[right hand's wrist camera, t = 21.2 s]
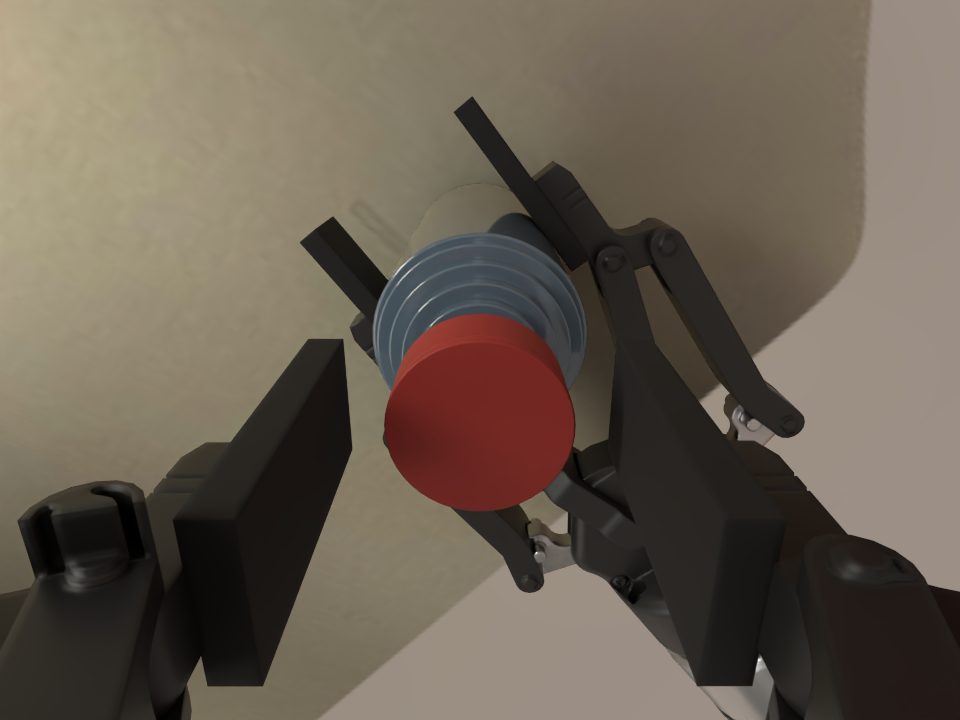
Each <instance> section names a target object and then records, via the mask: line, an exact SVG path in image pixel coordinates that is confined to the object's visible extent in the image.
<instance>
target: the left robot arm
mask: <svg viewBox="0 0 960 720" xmlns="http://www.w3.org/2000/svg"><path fill="white" fill-rule="evenodd" d="M454 113H455V115H456V116H457V117H458V119H459V120H460V121H461V123H462V124H463V126H464V127H465V128H466V130H467V131H468V132H469V134H470V135H471V136H472V138H473V139H474V140H475V142H476V143H477V144H478V146H479V147H480V149H481V150H482V151H483V153H484V154H485V155H486V157H487V158H488V159H489V161H490V162H491V163H492V165H493V166H494V167H495V169H496V170H497V172H498V173H499V174H500V176H501V177H502V178H503V180H504V181H505V182H506V184H507V185H508V186H509V188H510V189H511V190H512V192H513V193H514V195H515V196H516V197H517V199H518V200H519V201H520V203H521V204H522V205H523V207H524V208H525V209H526V211H527V212H528V213H529V215H530V216H531V218H532V219H533V220H534V222H535V223H536V224H537V226H538V227H539V228H540V230H541V231H542V232H543V234H544V235H545V236H546V238H547V239H548V240H549V241H550V243H551V245H552V246H553V247H554V249H555V250H556V251H557V253H558V254H559V255H560V257H561V258H562V259H563V261H564V262H565V264H566V265H567V266H568V268H569V269H570V270H571V272H572V271H573V270H575V269H576V268H577V267H579V266H580V265H582V264H583V263H584V262H586V261H587V260H588V263H589V267H590V270H591V273H592V276H593V279H594V282H595V286H596V289H597V292H598V295H599V298H600V302H601V305H602V308H603V311H604V314H605V317H606V321H607V324H608V327H609V330H610V333H611V336H612V340H613V343H614V346H615V349H616V343H617V339H652V340H653V342H654V339H653V335H652V332H651V328H650V325H649V321H648V318H647V314H646V311H645V307H644V304H643V301H642V297H641V294H640V290H639V287H638V283H637V280H636V276H635V273H634V270H635V269H639V268H642V267H645V266H648V265H650V267H651V269H652V270H653V272H654V274H655V275H656V277H657V279H658V280H659V282H660V284H661V285H662V287H663V289H664V291H665V292H666V294H667V296H668V297H669V299H670V301H671V302H672V304H673V306H674V308H675V309H676V311H677V313H678V314H679V316H680V318H681V319H682V321H683V323H684V324H685V326H686V328H687V330H688V331H689V333H690V335H691V336H692V338H693V340H694V341H695V343H696V345H697V347H698V348H699V350H700V352H701V353H702V355H703V357H704V358H705V360H706V362H707V363H708V365H709V367H710V369H711V370H712V372H713V373H714V375H715V376H716V378H717V379H718V380H719V381H720V383H721V384H722V385H723V386H724V387H725V388H726V389H727V390H728V392H729V393H730V394H728V395H727V396H726V398H725V404H724V413H725V415H726V416H727V417H728V419H729V421H730V428H729V431H728V432H727V434H723V435H724V436H725V437H726V439H727V440H754V441H756V442H758V443H759V444H761V445H763V446H764V445H765V444H766V443H767V442H768V441H769V440H770V439H771V438H772V437H773V436H774V435H775V434H776V435H778V436H780V437H782V438H789V437H792V436H795V435H796V434H798V433H799V432H800V431H801V430H802V428H803V427H804V423H805V421H804V416H803V415H802V414H801V413H800V412H799V411H798V410H797V409H796V408H795V407H794V406H793V405H792V404H791V403H790V402H789V401H788V400H786V399H785V398H784V397H783V396H782V395H781V394H780V393H779V392H778V391H777V390H776V389H775V388H774V387H773V386H771V385H770V384H769V383H767V382H766V381H765V380H764V379H763V378H762V376H761V374H760V372H759V371H758V369H757V367H756V365H755V363H754V362H753V360H752V358H751V356H750V354H749V353H748V351H747V349H746V347H745V345H744V344H743V342H742V340H741V338H740V337H739V335H738V333H737V331H736V329H735V328H734V326H733V324H732V322H731V321H730V319H729V317H728V315H727V313H726V312H725V310H724V308H723V306H722V304H721V303H720V301H719V299H718V297H717V296H716V294H715V292H714V290H713V288H712V287H711V285H710V283H709V281H708V279H707V278H706V276H705V274H704V272H703V271H702V269H701V267H700V265H699V263H698V262H697V260H696V258H695V256H694V255H693V253H692V251H691V249H690V247H689V246H688V244H687V242H686V240H685V238H684V237H683V235H682V234H681V233H680V232H679V231H677V230H676V229H674V228H672V227H671V226H669V225H667V224H666V223H664V222H662V221H661V220H659V219H656V218H647V219H645V220H642V221H641V222H640V223H639V224H637V225H634V226H631V227H628V228H624V229H613V228H610V227H609V226H608V225H607V223H606V222H605V220H604V219H603V218H602V216H601V215H600V213H599V212H598V210H597V209H596V208H595V206H594V205H593V203H592V202H591V200H590V199H589V198H588V196H587V195H586V193H585V192H584V190H583V189H582V188H581V186H580V185H579V183H578V182H577V180H576V179H575V178H574V176H573V175H572V173H571V172H570V171H568V170H567V169H565V168H563V167H562V166H560V165H559V164H557V163H555V162H554V161H552V162H551V163H550V164H548V165H547V166H546V167H545V168H543V169H542V170H541V171H540V172H538V173H537V174H536V175H534V176H533V177H532V178H531V177H530V175H529V174H528V173H527V171H526V170H525V169H524V167H523V166H522V164H521V163H520V162H519V160H518V159H517V157H516V156H515V155H514V153H513V152H512V151H511V149H510V148H509V146H508V145H507V144H506V142H505V141H504V139H503V138H502V137H501V135H500V134H499V133H498V131H497V130H496V128H495V127H494V126H493V124H492V123H491V122H490V120H489V119H488V117H487V116H486V115H485V113H484V112H483V110H482V109H481V108H480V106H479V105H478V104H477V102H476V101H475V99H474V98H473V97H471V98H470V99H469V100H467V101H466V102H465V103H464V104H463V105H461V106H460V107H459V108H458V109H457V110H456V111H454ZM300 243H301V244H302V246H303V247H304V248H305V249H306V250H307V251H308V252H309V253H310V255H311V256H312V257H313V258H314V259H315V260H316V261H317V262H318V264H319V265H320V266H321V267H322V268H323V269H324V270H325V272H326V273H327V274H328V275H329V276H330V277H331V278H332V279H333V281H334V282H335V283H336V284H337V285H338V286H339V287H340V288H341V290H342V291H343V292H344V293H345V294H346V295H347V296H348V298H349V299H350V300H351V301H352V302H353V303H354V304H355V305H356V307H357V308H358V309H359V310H360V311H361V313H359V314H358V315H357V316H356V317H355V319H354V321H353V322H352V324H351V326H350V329H351V332H352V335H353V337H354V340H355V341H356V342H357V343H358V345H359V346H360V347H361V348H362V349H363V350H364V351H365V352H366V353H367V355H368V356H369V357H370V358H371V359H373V361H374V362H375V363H376V364H377V360H376V357H375V352H374V346H373V323H374V315H375V311H376V308H377V304H378V301H379V299H380V296H381V294H382V292H383V289H384V288H385V286H386V284H387V282H388V280H387V279H386V278H385V277H384V275H383V274H382V273H381V272H380V271H379V269H378V268H377V267H376V266H375V265H374V264H373V262H372V261H371V260H370V259H369V258H368V257H367V255H366V254H365V253H364V252H363V251H362V250H361V248H360V247H359V246H358V245H357V244H356V242H355V241H354V240H353V239H352V238H351V237H350V235H349V234H348V233H347V232H346V231H345V230H344V228H343V227H342V226H341V225H340V224H339V223H338V221H337V220H336V219H335V218H334V217H332V218H330V219H329V220H327V221H326V222H325V223H323V224H322V225H320V226H319V227H318V228H316V229H315V230H314V231H313V232H311V233H310V234H309V235H308V236H307V237H306V238H304V239H303V240H302V241H301V242H300ZM654 343H655V342H654ZM377 366H378V364H377ZM383 442H384V444H385V446H386V447H387V443H386V438H385V431H384V434H383ZM387 448H388V447H387ZM543 491H544V492H545V493H546V494H547V496H548V497H549V498H550V500H551V501H552V502H553V503H554V504H556V505H557V506H559V507H560V508H562V509H564V510H565V511H567V512H568V533H566V534H557V533H554V532H552V531H551V530H550V529H549V528H548V527H547V525H545V524H543V523H542V522H541V520H539V519H536V518H535V519H532V520H530V521H529V519H528V517H527V515H526V514H525V512H524V511H523V509H522V508H521V506H520V505H519V504H517V505H514V506H511V507H508V508H503V509H499V510H491V511H469V510H461V509H457V508H452V507H451V508H452V509H453V510H454V511H455V512H456V513H457V514H458V515H460V516H461V517H462V518H463V519H464V520H465V521H466V522H467V523H468V524H469V525H470V526H471V527H472V528H473V529H475V530H476V531H477V532H478V533H479V534H480V535H481V536H482V537H483V538H484V539H485V540H486V541H487V542H488V543H490V544H491V545H492V546H493V547H494V548H495V549H496V550H497V551H498V552H499V553H500V554H501V555H502V556H503V557H504V559H505V561H506V564H507V566H508V568H509V570H510V572H511V574H512V576H513V579H514V581H515V583H516V585H517V586H518V588H519V589H520V590H522V591H524V592H528V593H531V592H536V591H538V590H540V589H541V588H542V586H543V584H544V576H543V574H545V573H548V572H551V571H554V570H557V569H561V568H564V567H567V566H570V565H573V564H577V565H578V566H579V567H580V568H582V569H583V570H585V571H587V572H590V573H593V574H596V575H598V576H600V577H602V578H603V579H605V580H606V581H607V582H608V583H609V584H610V585H611V587H612V588H613V589H614V591H615V592H616V593H617V594H618V595H619V597H620V598H621V599H622V600H623V601H624V602H625V603H626V605H627V606H628V607H629V608H630V609H631V610H632V611H633V612H634V614H635V615H636V616H637V617H638V618H639V619H640V620H641V622H642V623H643V624H644V625H645V626H646V627H647V628H648V630H649V631H650V632H651V633H652V634H653V635H654V636H655V637H656V639H657V640H658V641H659V642H660V643H661V644H662V645H663V646H665V647H666V649H667V650H668V652H669V653H670V655H671V656H672V658H673V659H674V660H675V661H676V662H677V663H678V664H679V665H680V666H681V668H682V669H683V670H684V671H685V672H686V673H687V674H688V675H689V676H690V677H691V678H692V680H693V681H694V682H695V679H694V677H693V674H692V671H691V669H690V666H689V663H688V661H687V658H686V655H685V653H684V650H683V647H682V645H681V642H680V639H679V637H678V634H677V632H676V629H675V626H674V624H673V621H672V618H671V616H670V613H669V610H668V608H667V605H666V602H665V600H664V597H663V594H662V592H661V589H660V586H659V584H658V581H657V579H656V576H655V573H654V571H653V568H652V565H651V563H650V560H649V557H648V555H647V552H646V549H645V547H644V544H643V541H642V539H641V536H640V534H639V531H638V528H637V526H636V523H635V520H634V518H633V515H632V512H631V510H630V507H629V504H628V502H627V499H626V496H625V494H624V491H623V488H622V486H621V483H620V481H619V478H618V475H617V473H616V470H615V467H614V465H613V462H612V459H611V457H610V454H609V451H608V439H607V440H605V441H602V442H599V443H597V444H594V445H591V446H589V447H588V448H586V449H585V450H583V451H582V452H581V451H579V450H578V449H576V448H575V447H572V450H571V452H570V455H569V458H568V460H567V461H566V463H565V465H564V467H563V468H562V470H561V471H560V473H559V474H558V475H557V477H556V478H555V479H554V480H553V481H552V482H551V483H550V484H549V485H548V486H547V487H546V488H545V489H543ZM695 683H696V682H695ZM773 683H774V681H773V679H772V677H771V675H770V673H769V671H768V669H767V667H766V665H765V663H764V661H763V659H762V657H761V655H760V653H759V657H758V662H757V667H756V671H755V676H754V681H753V686H699V687H700V688H701V689H702V690H703V691H704V693H705V694H706V695H707V696H708V697H709V698H710V699H711V700H712V701H713V702H714V704H715V705H716V706H717V708H718V709H719V710H720V711H721V712H722V714H723V715H724V716H725V717H727V719H728V720H765V718H766V714H767V709H768V705H769V700H770V696H771V691H772V687H773Z"/></svg>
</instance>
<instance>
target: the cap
mask: <svg viewBox="0 0 960 720" xmlns="http://www.w3.org/2000/svg"><path fill="white" fill-rule="evenodd" d="M384 427H385V438H386V443H387V447H388V450H389V453H390V456H391V458H392V460H393V462H394V464H395V465H396V467H397V469H398V470H399V471H400V473H401V474H402V476H403V477H404V478H405V479H406V480H407V481H408V482H409V483H410V484H411V485H412V486H413V487H414V488H415V489H417V490H418V491H419V492H420V493H422V494H423V495H425V496H427V497H428V498H430V499H432V500H434V501H436V502H438V503H440V504H443V505H446V506H449V507H452V508H457V509H461V510H469V511H491V510H499V509H503V508H508V507H511V506H514V505H517V504H520V503H522V502H524V501H526V500H528V499H530V498H532V497H533V496H535V495H536V494H538V493H540V492H541V491H542V490H543V489H545V488H546V487H547V486H548V485H549V484H550V483H551V482H552V481H553V480H554V479H555V478H556V477H557V475H558V474H559V473H560V471H561V470H562V468H563V467H564V465H565V463H566V461H567V460H568V458H569V455H570V452H571V450H572V447H573V442H574V437H575V414H574V409H573V405H572V401H571V398H570V395H569V392H568V389H567V385H566V382H565V379H564V376H563V373H562V370H561V367H560V365H559V362H558V360H557V358H556V356H555V354H554V353H553V351H552V350H551V348H550V347H549V346H548V344H547V343H546V342H545V341H544V340H543V339H542V338H541V337H540V336H539V335H538V334H536V333H535V332H534V331H532V330H531V329H530V328H528V327H526V326H525V325H523V324H521V323H519V322H517V321H514V320H512V319H509V318H505V317H502V316H498V315H490V314H470V315H462V316H458V317H454V318H451V319H448V320H446V321H443V322H441V323H439V324H437V325H435V326H434V327H432V328H430V329H429V330H427V331H426V332H425V333H423V334H422V335H421V336H420V337H419V338H418V339H417V340H416V341H415V342H414V343H413V344H412V346H411V347H410V348H409V349H408V351H407V352H406V354H405V356H404V358H403V359H402V362H401V364H400V367H399V369H398V372H397V375H396V379H395V382H394V385H393V388H392V391H391V394H390V398H389V401H388V404H387V409H386V413H385V423H384Z"/></svg>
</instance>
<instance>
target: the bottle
mask: <svg viewBox="0 0 960 720" xmlns="http://www.w3.org/2000/svg"><path fill="white" fill-rule="evenodd" d="M470 314H490V315H498V316H502V317H505V318H509V319H512V320H514V321H517V322H519V323H521V324H523V325H525V326H526V327H528V328H530V329H531V330H532V331H534V332H535V333H536V334H538V335H539V336H540V337H541V338H542V339H543V340H544V341H545V342H546V343H547V344H548V346H549V347H550V348H551V350H552V351H553V353H554V354H555V356H556V358H557V360H558V362H559V365H560V367H561V370H562V373H563V376H564V379H565V382H566V385H567V389H568V391H569V390H570V388H571V387H572V385H573V383H574V381H575V380H576V378H577V376H578V374H579V371H580V369H581V366H582V364H583V360H584V356H585V352H586V344H587V323H586V317H585V311H584V308H583V305H582V302H581V299H580V296H579V294H578V292H577V290H576V288H575V286H574V284H573V282H572V280H571V279H570V277H569V275H568V273H567V271H566V269H565V267H564V266H563V264H562V262H561V260H560V258H559V256H558V255H557V253H556V251H555V249H554V247H553V246H552V245H551V243H550V241H549V240H548V239H547V238H546V236H545V235H544V234H543V232H542V231H541V230H540V228H539V227H538V226H537V224H536V223H535V222H534V220H533V219H532V218H531V216H530V215H529V213H528V212H527V211H526V209H525V208H524V207H523V205H522V204H521V203H520V201H519V200H518V199H517V197H516V196H515V195H514V193H513V192H512V191H509V190H507V189H505V188H503V187H500V186H497V185H492V184H482V183H477V184H468V185H464V186H460V187H457V188H455V189H452V190H450V191H449V192H447V193H445V194H443V195H442V196H441V197H439V198H438V199H437V200H436V201H435V202H434V203H433V204H432V205H431V206H430V207H429V208H428V210H427V211H426V212H425V214H424V216H423V217H422V219H421V221H420V223H419V225H418V227H417V228H416V230H415V232H414V234H413V236H412V238H411V240H410V241H409V243H408V245H407V247H406V249H405V251H404V252H403V254H402V256H401V258H400V260H399V262H398V264H397V265H396V267H395V269H394V271H393V273H392V275H391V277H390V278H389V280H388V282H387V284H386V286H385V288H384V289H383V292H382V294H381V296H380V299H379V301H378V304H377V308H376V311H375V315H374V323H373V346H374V352H375V357H376V360H377V364H378V367H379V369H380V372H381V374H382V376H383V378H384V380H385V382H386V383H387V385H388V387H389V388H390V390H391V391H392V388H393V385H394V382H395V379H396V375H397V372H398V369H399V367H400V364H401V362H402V359H403V358H404V356H405V354H406V352H407V351H408V349H409V348H410V347H411V346H412V344H413V343H414V342H415V341H416V340H417V339H418V338H419V337H420V336H421V335H422V334H423V333H425V332H426V331H427V330H429V329H430V328H432V327H434V326H435V325H437V324H439V323H441V322H443V321H446V320H448V319H451V318H454V317H458V316H462V315H470Z"/></svg>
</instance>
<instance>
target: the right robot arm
mask: <svg viewBox="0 0 960 720" xmlns="http://www.w3.org/2000/svg"><path fill="white" fill-rule="evenodd" d="M351 451H352V439H351V427H350V415H349V403H348V391H347V379H346V367H345V355H344V343H343V339H308V340H307V342H306V343H305V344H304V346H303V347H302V348H301V350H300V351H299V352H298V354H297V355H296V356H295V358H294V359H293V360H292V361H291V363H290V364H289V365H288V367H287V368H286V369H285V371H284V372H283V373H282V375H281V376H280V377H279V379H278V380H277V381H276V383H275V384H274V385H273V387H272V388H271V389H270V391H269V392H268V393H267V395H266V396H265V397H264V399H263V400H262V401H261V403H260V404H259V405H258V407H257V408H256V409H255V411H254V412H253V413H252V415H251V416H250V417H249V419H248V420H247V421H246V423H245V424H244V425H243V427H242V428H241V429H240V431H239V432H238V433H237V435H236V436H235V437H234V439H233V440H232V441H231V443H205V444H203V445H201V446H200V447H198V448H196V449H195V450H193V451H191V452H190V453H188V454H186V455H185V456H183V457H181V459H180V460H179V461H178V462H177V463H176V464H175V466H174V467H173V468H172V469H171V470H170V471H169V473H168V474H167V475H166V476H167V477H166V478H163V479H162V481H161V482H160V483H159V484H158V485H157V486H156V488H155V489H154V493H150V495H149V496H148V497H147V498H146V499H145V497H144V493H143V490H141V489H140V488H139V487H137V486H136V485H135V484H133V483H127V482H122V481H99V482H92V483H88V484H83V485H79V486H74V487H71V488H68V489H66V490H63V491H61V492H58V493H56V494H53V495H51V496H48V497H47V498H45V499H43V500H42V501H40V502H39V503H37V504H35V505H34V506H32V507H30V508H29V509H28V510H27V511H26V512H25V513H24V514H23V515H22V517H21V518H20V519H19V520H18V524H19V528H20V531H21V534H22V537H23V540H24V543H25V546H26V550H27V553H28V556H29V559H30V562H31V565H32V568H33V572H34V575H35V578H36V579H35V581H34V583H33V585H32V587H31V588H29V589H25V590H21V591H16V592H11V593H6V594H1V595H0V720H191V712H192V710H191V702H190V696H189V691H188V687H187V682H188V680H189V678H190V676H191V674H192V672H193V670H194V668H195V666H196V664H197V663H198V661H199V659H200V657H202V662H203V667H204V671H205V676H206V681H207V686H263V685H264V682H265V679H266V677H267V674H268V671H269V669H270V666H271V663H272V661H273V658H274V655H275V653H276V650H277V647H278V645H279V642H280V639H281V637H282V634H283V632H284V629H285V626H286V624H287V621H288V618H289V616H290V613H291V610H292V608H293V605H294V602H295V600H296V597H297V594H298V592H299V589H300V587H301V584H302V581H303V579H304V576H305V573H306V571H307V568H308V565H309V563H310V560H311V557H312V555H313V552H314V549H315V547H316V544H317V541H318V539H319V536H320V534H321V531H322V528H323V526H324V523H325V520H326V518H327V515H328V512H329V510H330V507H331V504H332V502H333V499H334V496H335V494H336V491H337V488H338V486H339V483H340V481H341V478H342V475H343V473H344V470H345V467H346V465H347V462H348V459H349V457H350V454H351ZM608 451H609V454H610V457H611V459H612V462H613V465H614V467H615V470H616V473H617V475H618V478H619V481H620V483H621V486H622V488H623V491H624V494H625V496H626V499H627V502H628V504H629V507H630V510H631V512H632V515H633V518H634V520H635V523H636V526H637V528H638V531H639V534H640V536H641V539H642V541H643V544H644V547H645V549H646V552H647V555H648V557H649V560H650V563H651V565H652V568H653V571H654V573H655V576H656V579H657V581H658V584H659V586H660V589H661V592H662V594H663V597H664V600H665V602H666V605H667V608H668V610H669V613H670V616H671V618H672V621H673V624H674V626H675V629H676V632H677V634H678V637H679V639H680V642H681V645H682V647H683V650H684V653H685V655H686V658H687V661H688V663H689V666H690V669H691V671H692V674H693V677H694V679H695V682H696V684H697V686H753V681H754V676H755V671H756V667H757V662H758V657H759V653H760V655H761V657H762V659H763V661H764V663H765V665H766V667H767V669H768V671H769V673H770V675H771V677H772V679H773V681H774V683H773V687H772V691H771V696H770V700H769V705H768V709H767V714H766V718H765V720H960V592H958V591H954V590H949V589H944V588H939V587H935V586H931V585H928V584H927V582H926V580H925V578H924V577H923V575H922V574H921V573H920V572H919V570H918V569H917V568H916V567H915V565H914V564H913V563H912V562H910V561H909V560H907V559H906V558H905V557H903V556H902V555H900V554H899V553H898V552H896V551H894V550H892V549H890V548H888V547H886V546H883V545H881V544H879V543H877V542H875V541H872V540H868V539H864V538H861V537H857V536H853V535H848V534H847V533H846V532H845V531H844V530H843V529H842V527H841V526H840V525H839V524H838V523H837V522H836V520H835V519H834V518H833V517H832V516H831V515H830V514H829V512H828V511H827V510H826V509H825V508H824V507H823V505H822V504H821V503H820V502H819V501H818V500H817V499H816V497H815V496H814V495H813V494H812V493H811V492H810V491H807V487H806V486H805V485H804V484H803V482H802V481H801V480H800V479H799V478H798V477H797V476H794V472H793V471H792V470H791V469H790V467H789V466H788V465H787V464H786V463H785V462H784V461H783V459H782V458H781V457H780V456H779V455H778V454H776V453H774V452H773V451H771V450H769V449H768V448H766V447H764V446H763V445H761V444H759V443H758V442H756V441H754V440H727V439H726V437H725V436H724V435H723V433H722V432H721V431H720V429H719V428H718V427H717V425H716V424H715V423H714V421H713V420H712V419H711V417H710V416H709V415H708V413H707V412H706V411H705V409H704V408H703V407H702V405H701V404H700V403H699V401H698V400H697V399H696V397H695V396H694V395H693V393H692V392H691V391H690V389H689V388H688V387H687V385H686V384H685V383H684V381H683V380H682V379H681V377H680V376H679V375H678V373H677V372H676V371H675V369H674V368H673V367H672V365H671V364H670V363H669V361H668V360H667V359H666V357H665V356H664V355H663V354H662V352H661V351H660V350H659V348H658V347H657V346H656V344H655V343H654V342H653V340H652V339H617V343H616V355H615V367H614V379H613V391H612V403H611V415H610V427H609V439H608Z"/></svg>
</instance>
